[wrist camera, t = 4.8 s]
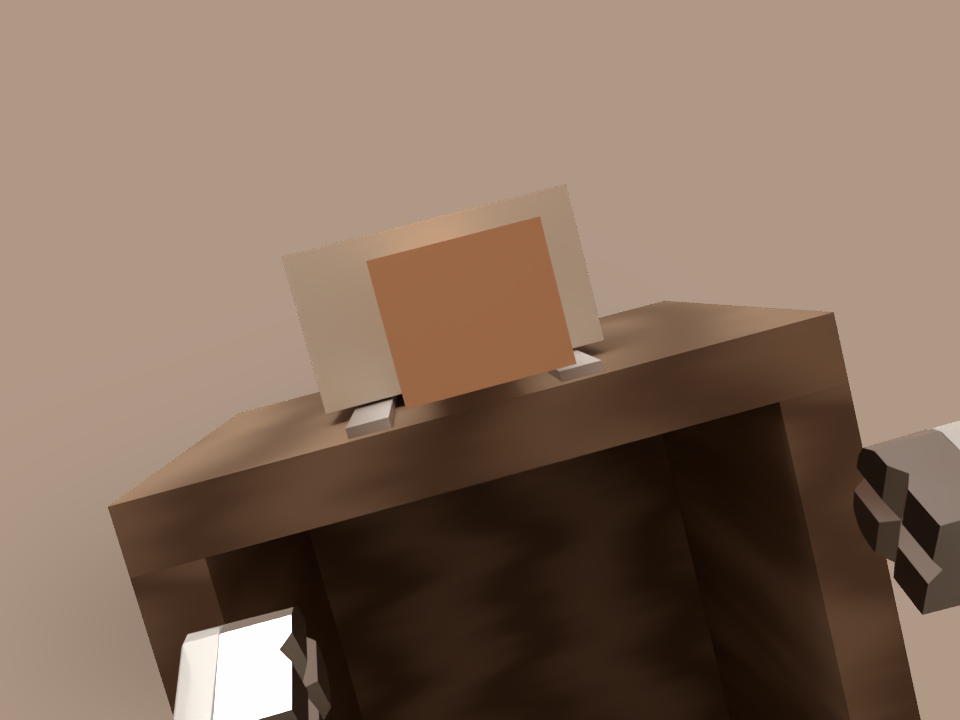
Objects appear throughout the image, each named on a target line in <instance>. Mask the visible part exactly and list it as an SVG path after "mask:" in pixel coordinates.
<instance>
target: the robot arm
mask: <svg viewBox="0 0 960 720" xmlns="http://www.w3.org/2000/svg"><path fill="white" fill-rule="evenodd" d="M857 469H858V471H859V472H860V473H861V474H862V476H863V477H864V479H863V480H862V481H861V482H860V484H859V485H858V486H857V487H856V489H855V490H854V500H853V509H854V513H855V516H856V520H857V524H858V527H859V528H860V530H861V532H862V534H863V536H864V538H865V540H866V541H867V543H868V544H869V545H870V547H871V548H872V549H873V551H874V552H875V553H876V554H878V555H880V556H883V557H885V558H887V559H889V560H891V561H893V562H895V567H894V578H895V580H896V581H897V583H898V584H899V585H900V586H901V588H902V589H903V590H904V592H905V593H906V594H907V596H908V597H909V598H910V599H911V600H912V602H913V603H914V605H915V606H916V607H917V609H918V610H919V611H920V612H921V614H922V615H923V614H927V613H931V612H935V611H939V610H943V609H947V608H950V607H955V606H958V605H960V421H957V422H953V423H950V424H946V425H942V426H939V427H935V428H932V429H930V430H923V431H919V432H916V433H912V434H909V435H906V436H902V437H899V438H895V439H892V440H889V441H885V442H882V443H879V444H875V445H871V446H868V447H864V448H863V449H862V450H861V452H860V453H859V455H858V460H857ZM330 708H331V698H330V686H329V681H328V675H327V670H326V665H325V662H324V659H323V656H322V653H321V651H320V649H319V646H318V644H317V642H316V641H315V640H312V639H310V638H308V637H307V635H306V620H305V619H304V617H303V615H302V613H301V611H300V610H299V608H298V607H292V608H288V609H284V610H280V611H276V612H272V613H268V614H264V615H260V616H256V617H252V618H248V619H244V620H240V621H236V622H232V623H228V624H224V625H221V626H218V627H214V628H210V629H206V630H202V631H198V632H195V633H191V634H187V637H186V639H185V641H184V643H183V645H182V649H181V658H180V666H179V674H178V683H177V691H176V699H175V708H174V716H173V720H324V719H325V717H326V715H327V713H328V712H329V710H330Z"/></svg>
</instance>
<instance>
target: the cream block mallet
mask: <svg viewBox="0 0 960 720" xmlns="http://www.w3.org/2000/svg"><path fill="white" fill-rule="evenodd" d="M282 260H283V263H284V267H285V270H286V274H287V277H288V281H289V284H290V288H291V292H292V295H293V299H294V302H295V306H296V309H297V313H298V316H299V320H300V323H301V327H302V331H303V334H304V338H305V341H306V345H307V348H308V352H309V355H310V359H311V363H312V366H313V370H314V373H315V377H316V380H317V384H318V388H319V391H320V395H321V398H322V402H323V405H324V409H325V413H326V414H328V413H332V412H335V411H339V410H343V409H347V408H350V407H354V406H358V405H362V404H366V403H369V402H373V401H377V400H381V399H384V398H388V397H392V396H396V395H399V394H402V396H403V399H404V403H405V407H406V409H409V408H413V407H417V406H421V405H424V404H428V403H432V402H435V401H439V400H443V399H447V398H450V397H454V396H458V395H462V394H465V393H469V392H473V391H477V390H480V389H484V388H488V387H492V386H495V385H499V384H503V383H507V382H510V381H514V380H518V379H522V378H525V377H529V376H533V375H537V374H540V373H544V372H548V371H552V370H555V369H559V368H563V367H567V366H570V365H574V364H576V360H575V356H574V352H573V348H576V347H580V346H584V345H587V344H591V343H595V342H599V341H603V340H604V337H603V333H602V329H601V325H600V321H599V317H598V313H597V309H596V305H595V301H594V296H593V293H592V288H591V284H590V280H589V276H588V272H587V268H586V263H585V259H584V255H583V251H582V247H581V243H580V239H579V235H578V231H577V226H576V223H575V218H574V214H573V210H572V206H571V202H570V198H569V194H568V189H567V185H566V184H564V185H560V186H556V187H553V188H548V189H544V190H540V191H537V192H533V193H529V194H525V195H522V196H517V197H513V198H509V199H505V200H501V201H497V202H494V203H490V204H486V205H482V206H478V207H474V208H470V209H466V210H462V211H458V212H455V213H451V214H447V215H443V216H439V217H435V218H431V219H427V220H424V221H419V222H416V223H412V224H408V225H404V226H400V227H396V228H392V229H388V230H385V231H381V232H376V233H373V234H369V235H365V236H361V237H357V238H353V239H350V240H345V241H341V242H337V243H334V244H330V245H326V246H322V247H318V248H314V249H310V250H307V251H302V252H298V253H294V254H291V255H287V256H283V257H282Z"/></svg>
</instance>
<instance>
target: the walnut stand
mask: <svg viewBox="0 0 960 720" xmlns="http://www.w3.org/2000/svg"><path fill="white" fill-rule="evenodd" d="M599 321H600V325H601V329H602V333H603V337H604V340H603V341H599V342H595V343H591V344H587V345H584V346H580V347H576V348H573V352H574V356H575V360H576V364H574V365H570V366H567V367H563V368H559V369H555V370H552V371H548V372H544V373H540V374H537V375H533V376H529V377H525V378H522V379H518V380H514V381H510V382H507V383H503V384H499V385H495V386H492V387H488V388H484V389H480V390H477V391H473V392H469V393H465V394H462V395H458V396H454V397H450V398H447V399H443V400H439V401H435V402H432V403H428V404H424V405H421V406H417V407H413V408H409V409H406V407H405V403H404V399H403V396H402V394H399V395H396V396H392V397H388V398H384V399H381V400H377V401H373V402H369V403H366V404H362V405H358V406H354V407H350V408H347V409H343V410H339V411H335V412H332V413H328V414H326V413H325V409H324V405H323V402H322V398H321V395H320V392H318V393H315V394H311V395H307V396H303V397H299V398H295V399H291V400H288V401H284V402H280V403H276V404H273V405H269V406H265V407H261V408H257V409H254V410H250V411H246V412H242V413H239V414H237V415H235V416H234V417H232V418H231V419H230V420H228V421H227V422H225V423H224V424H223V425H221V426H220V427H218V428H217V429H216V430H214V431H213V432H211V433H210V434H209V435H207V436H206V437H204V438H203V439H202V440H200V441H199V442H197V443H196V444H195V445H193V446H192V447H190V448H189V449H188V450H186V451H185V452H183V453H182V454H181V455H179V456H178V457H177V458H175V459H174V460H172V461H171V462H170V463H168V464H167V465H166V466H164V467H163V468H161V469H160V470H158V471H157V472H156V473H154V474H153V475H151V476H150V477H149V478H147V479H146V480H144V481H143V482H142V483H140V484H139V485H137V486H136V487H135V488H133V489H132V490H130V491H129V492H128V493H126V494H125V495H123V496H122V497H121V498H119V499H118V500H116V501H115V502H114V503H112V504H111V505H110V506H108V509H109V512H110V515H111V518H112V521H113V525H114V528H115V531H116V534H117V537H118V541H119V544H120V547H121V550H122V553H123V557H124V560H125V563H126V566H127V569H128V573H129V576H130V579H131V582H132V585H133V588H134V591H135V595H136V598H137V601H138V605H139V608H140V611H141V614H142V617H143V621H144V624H145V627H146V630H147V633H148V637H149V639H150V643H151V646H152V649H153V653H154V656H155V659H156V662H157V665H158V668H159V672H160V675H161V678H162V681H163V684H164V688H165V690H166V694H167V697H168V700H169V703H170V707H171V710H172V713H173V716H174V708H175V699H176V691H177V683H178V674H179V666H180V658H181V649H182V645H183V643H184V641H185V639H186V637H187V634H191V633H195V632H198V631H202V630H206V629H210V628H214V627H218V626H221V625H224V624H228V623H232V622H236V621H240V620H244V619H248V618H252V617H256V616H260V615H264V614H268V613H272V612H276V611H280V610H284V609H288V608H292V607H298V608H299V610H300V611H301V613H302V615H303V617H304V619H305V620H306V635H307V637H308V638H310V639H312V640H315V641H316V642H317V644H318V646H319V649H320V651H321V653H322V656H323V659H324V662H325V665H326V670H327V675H328V681H329V686H330V698H331V708H330V710H329V712H328V713H327V715H326V717H325V719H324V720H921V719H920V715H919V710H918V705H917V701H916V696H915V691H914V687H913V682H912V678H911V673H910V668H909V663H908V658H907V654H906V649H905V645H904V640H903V635H902V630H901V626H900V621H899V617H898V612H897V607H896V602H895V598H894V593H893V588H892V584H891V580H890V574H889V569H888V565H887V560H886V558H885V557H883V556H880V555H878V554H876V553H875V552H874V551H873V549H872V548H871V547H870V545H869V544H868V543H867V541H866V540H865V538H864V536H863V534H862V532H861V530H860V528H859V527H858V524H857V520H856V516H855V513H854V509H853V500H854V490H855V489H856V487H857V486H858V485H859V484H860V482H861V481H862V480H863V479H864V477H863V476H862V474H861V473H860V472H859V471H858V469H857V460H858V455H859V453H860V452H861V450H862V449H863V448H862V443H861V439H860V434H859V429H858V424H857V419H856V415H855V410H854V405H853V401H852V396H851V391H850V387H849V383H848V377H847V373H846V368H845V363H844V359H843V354H842V349H841V345H840V340H839V335H838V331H837V326H836V321H835V316H834V313H833V312H822V311H806V310H791V309H775V308H761V307H747V306H732V305H716V304H702V303H701V304H700V303H687V302H671V301H662V302H658V303H655V304H651V305H647V306H643V307H640V308H636V309H632V310H628V311H624V312H620V313H617V314H613V315H609V316H605V317H602V318H599Z"/></svg>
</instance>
